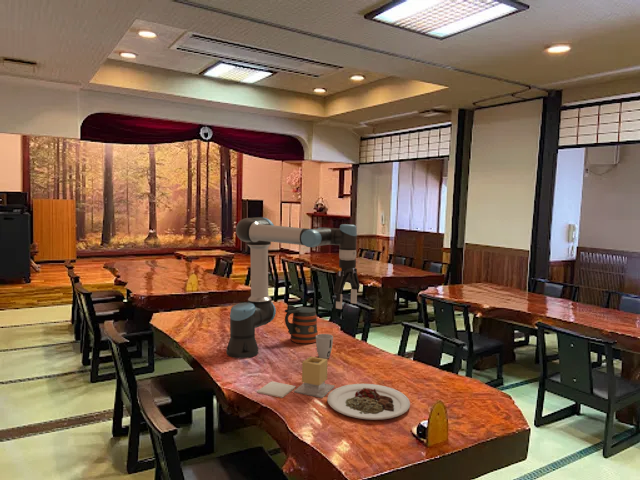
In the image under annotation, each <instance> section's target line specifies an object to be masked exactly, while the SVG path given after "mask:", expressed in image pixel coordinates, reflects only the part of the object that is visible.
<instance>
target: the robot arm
mask: <svg viewBox="0 0 640 480" xmlns="http://www.w3.org/2000/svg"><path fill="white" fill-rule="evenodd" d="M357 230H358V229H357V225H355V224H348V223H347V224H346V223H343V224H340V225H339V228H335V227H318V228H305V227H304V228H302V227H295V226H294V227H293V226H286V225H285V226H283V225H275V224H274V223H273V222H272V220H270V219H269V218H267V217H262V216H260V217H259V216H258V217H246V218H242V219H241V220H239V221H238V223H237V224H236V226H235V234H236V236H237V238H238V239H239V240H240V241H242V242H245V243H247V246H248V247H249V248H250V296H249V297H248V299H247V302H242V303H240V302H239V303H237V304H235V305H232V306H231V307H230V312H229V313H230V314H229V322H230V323H229V329H230V330H229V333H230V334H229V335H230V338H229V340H228V344H227V347H226V350H225V351H226V353H225V354H226V356H228V357H230V358H234V359H247V358H248V359H249V358H253V357H256V356H257V355H258V354H259V346H258V343H257V340H256V329H257V328H259V327H262V326H265V325H268V324H270V323H271V322H272V321H273V320H274V319H275V317H276V313H277V309H276V306H275V305H274V302H273V301H272V297H271V296H270V295H269V248H270V246H271V245H272V243H277V244H278V243H281V244H289V245H297V246H304V247H307V248H316V247H320V246H321V247H322V246H327V245H329V246H330V245H331V246H332V245H333V246H339V249H338V250H339V253H338V254H339V255H338V258H339V260H338V267H339V269H341V270H338V271H337V272H336V279H335V282H334V283H335V284H334V286H333V290H332V293H333V294H335V309H338V310H342V309H343V294H342V293H343V290H344V287H345V285H346V283H347V282H349V284H350V286H351V289H350V304H353V305H354V304H355V305H356V304H357V303H358V300H357V298H358V290H360V281H359V280H360V279H359V277H358V269H357V268H356V267H357V260H356V259H357V236H358V234H357Z"/></svg>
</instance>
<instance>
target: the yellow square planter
mask: <svg viewBox="0 0 640 480" xmlns="http://www.w3.org/2000/svg"><path fill="white" fill-rule="evenodd" d="M328 359H329V358H327V359H323V358H319V357H316V356H309V357H308V358H306V359H305V360H303V361H302V362H301V366H302V367H301V371H302V372H301V382H302V384H303V383H309V384H314V385H319V386H320V385H321V384H322V383H323V382H324V381H325V382H326V381H327V380H328ZM313 362H318V363H313Z"/></svg>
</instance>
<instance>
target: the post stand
mask: <svg viewBox="0 0 640 480" xmlns="http://www.w3.org/2000/svg"><path fill="white" fill-rule="evenodd" d="M313 363H318V362H313ZM334 388H335V385H334V384H329V383H326V380H325V381H324V382H323V383H322V384H321V385H320V386H319V385H314V384H309V383H303V382H302V384H301V385H299V386H297V387H296V388H295V389H293V393H295V394H300V395H306V396H309V397H315V398H319V399H323V398H324V397H326V395H328V394H329V393H330V392H332V391H333V390H334Z"/></svg>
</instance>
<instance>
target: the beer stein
mask: <svg viewBox="0 0 640 480" xmlns="http://www.w3.org/2000/svg"><path fill="white" fill-rule="evenodd" d="M316 312H317V310H316V307H309V306H302V307H301V306H300V307H296V306H294V305H292V304H287V308H286V309H284V313H286V314H285V316H284V324H285V327H286V328H287V329H288V331H287V332H288V333H289V335H290V341H291V342H292V343H296V344H305V345H306V344H316V335H319V332H318V326H317V324H318V318H317V317H318V316H317V313H316ZM290 315H292V319H291V320H292V321H291V322H290V320H289V316H290Z"/></svg>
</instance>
